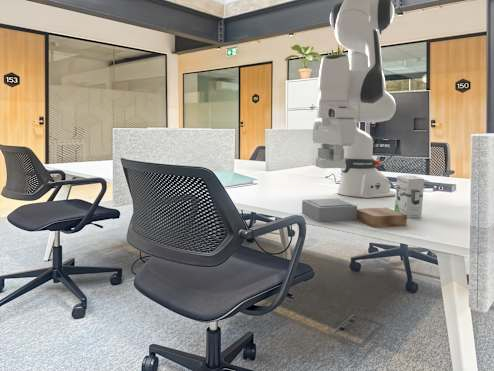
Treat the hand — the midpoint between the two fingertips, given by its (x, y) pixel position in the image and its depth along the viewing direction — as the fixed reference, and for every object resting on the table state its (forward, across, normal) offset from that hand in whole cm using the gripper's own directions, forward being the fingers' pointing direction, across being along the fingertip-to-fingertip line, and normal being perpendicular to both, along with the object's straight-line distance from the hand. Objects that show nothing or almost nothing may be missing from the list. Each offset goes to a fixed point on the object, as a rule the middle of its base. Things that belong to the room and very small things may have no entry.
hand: (330, 160), depth 120 cm
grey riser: (+17, 0, 0) cm, 17 cm away
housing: (+2, 0, 0) cm, 2 cm away
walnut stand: (+17, +10, +11) cm, 22 cm away
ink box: (+17, +3, +25) cm, 30 cm away
